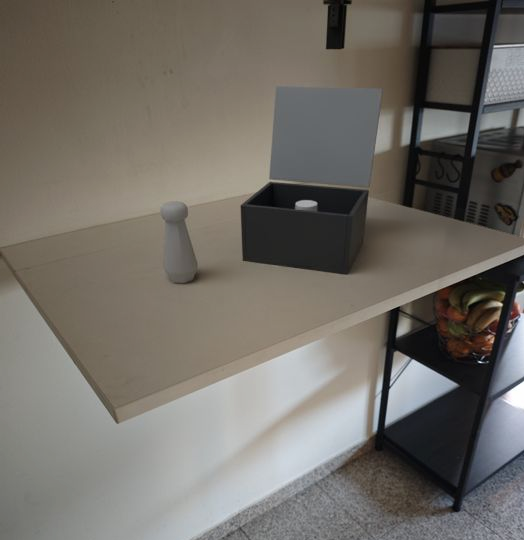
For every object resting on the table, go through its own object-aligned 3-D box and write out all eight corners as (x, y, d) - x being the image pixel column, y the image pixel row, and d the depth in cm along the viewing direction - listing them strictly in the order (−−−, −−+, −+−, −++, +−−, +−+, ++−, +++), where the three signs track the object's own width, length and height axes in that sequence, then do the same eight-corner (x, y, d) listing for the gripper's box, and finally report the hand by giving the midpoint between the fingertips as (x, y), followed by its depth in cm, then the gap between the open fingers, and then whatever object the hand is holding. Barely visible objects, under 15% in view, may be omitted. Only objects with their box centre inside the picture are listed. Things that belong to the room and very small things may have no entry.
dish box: (347, 274, 86) (352, 216, 81) (242, 260, 92) (240, 205, 86) (363, 242, 98) (368, 189, 93) (269, 231, 104) (269, 181, 98)
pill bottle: (316, 242, 97) (318, 198, 92) (319, 251, 93) (321, 207, 88) (291, 242, 97) (292, 199, 92) (293, 252, 93) (294, 207, 88)
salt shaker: (179, 268, 89) (171, 195, 82) (205, 275, 87) (199, 201, 80) (158, 280, 85) (147, 205, 78) (184, 288, 83) (175, 211, 75)
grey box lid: (382, 88, 87) (383, 89, 87) (275, 86, 92) (277, 86, 93) (368, 187, 92) (369, 187, 93) (268, 179, 98) (270, 179, 98)
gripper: (332, -118, 83) (324, 46, 96) (309, -139, 72) (304, 51, 85) (377, -122, 81) (363, 46, 94) (361, -145, 70) (347, 51, 83)
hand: (335, 48), depth 90 cm, fingers closed
